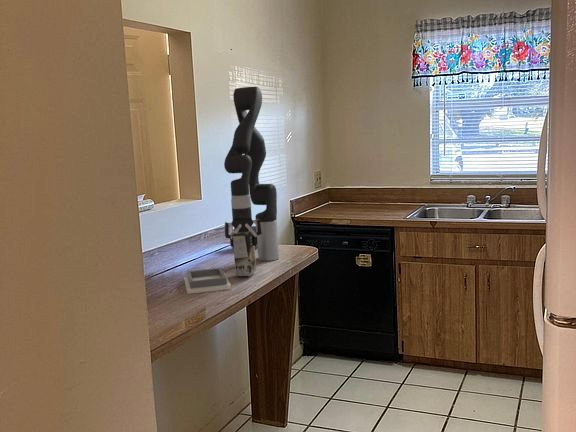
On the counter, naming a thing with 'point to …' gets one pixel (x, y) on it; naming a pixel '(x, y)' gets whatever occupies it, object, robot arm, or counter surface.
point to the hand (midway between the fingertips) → (244, 246)
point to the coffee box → (244, 254)
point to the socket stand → (206, 280)
